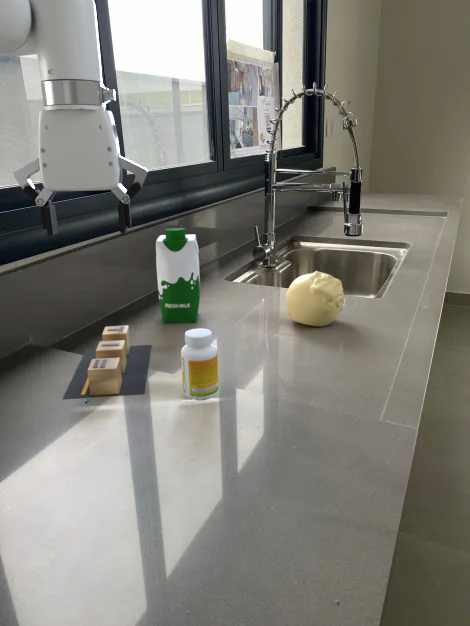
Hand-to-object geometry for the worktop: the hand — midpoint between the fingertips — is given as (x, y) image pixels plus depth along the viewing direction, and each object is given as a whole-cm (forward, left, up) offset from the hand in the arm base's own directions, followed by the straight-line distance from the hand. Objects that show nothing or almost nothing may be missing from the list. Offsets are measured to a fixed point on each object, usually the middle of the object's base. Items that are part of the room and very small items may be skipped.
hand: (88, 233), depth 69 cm
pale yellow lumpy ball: (+39, +26, -24) cm, 54 cm away
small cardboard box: (0, +15, -24) cm, 28 cm away
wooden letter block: (0, +8, -24) cm, 25 cm away
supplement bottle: (+14, -2, -24) cm, 29 cm away
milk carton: (+11, +32, -24) cm, 42 cm away
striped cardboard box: (0, 0, -24) cm, 24 cm away
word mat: (0, +8, -24) cm, 25 cm away
